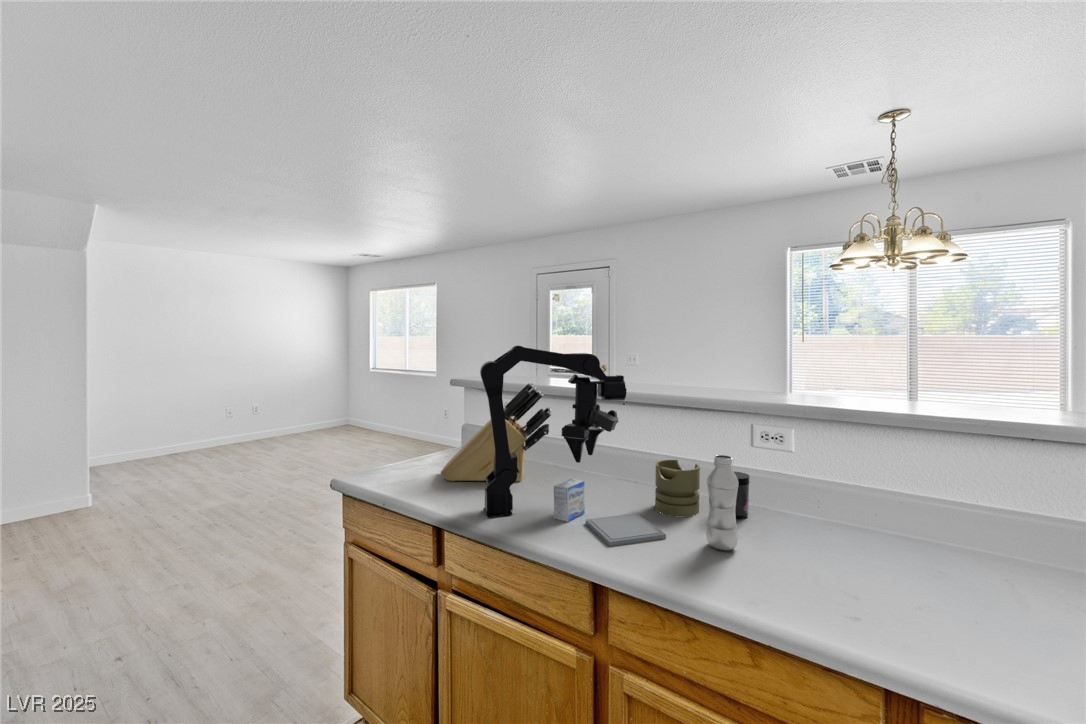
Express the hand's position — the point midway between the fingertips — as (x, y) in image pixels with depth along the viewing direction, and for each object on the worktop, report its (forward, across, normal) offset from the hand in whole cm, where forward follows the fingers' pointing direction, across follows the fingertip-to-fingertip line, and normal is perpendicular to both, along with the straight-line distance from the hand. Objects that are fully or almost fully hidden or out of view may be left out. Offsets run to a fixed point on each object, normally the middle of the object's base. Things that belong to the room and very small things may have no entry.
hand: (584, 458), depth 134 cm
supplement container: (+13, +12, -37) cm, 41 cm away
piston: (+13, +10, -23) cm, 28 cm away
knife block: (+14, +15, +36) cm, 41 cm away
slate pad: (+13, -11, -14) cm, 22 cm away
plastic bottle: (+13, -11, -36) cm, 40 cm away
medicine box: (+14, -7, +1) cm, 16 cm away
